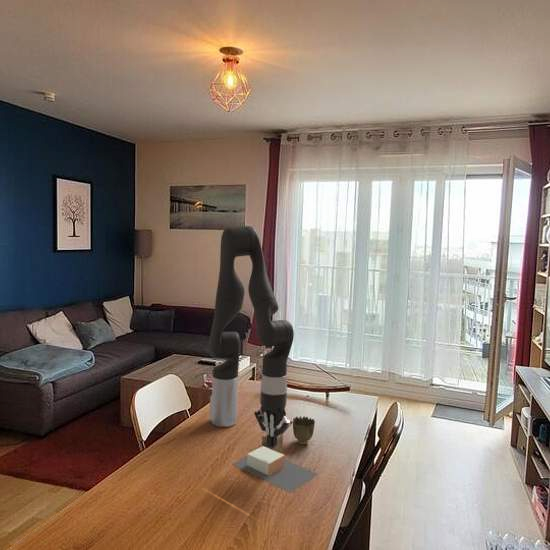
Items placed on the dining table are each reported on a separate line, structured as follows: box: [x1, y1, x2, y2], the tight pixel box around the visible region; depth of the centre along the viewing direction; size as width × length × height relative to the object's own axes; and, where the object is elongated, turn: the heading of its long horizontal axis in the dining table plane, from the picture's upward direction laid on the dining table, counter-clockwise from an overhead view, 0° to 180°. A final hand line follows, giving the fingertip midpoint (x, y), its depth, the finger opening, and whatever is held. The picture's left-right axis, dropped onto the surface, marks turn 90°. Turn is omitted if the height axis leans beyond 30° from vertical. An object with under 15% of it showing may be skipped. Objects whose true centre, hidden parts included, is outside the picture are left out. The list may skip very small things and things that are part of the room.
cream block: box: [246, 445, 286, 476], centre depth 135 cm, size 4×7×8 cm
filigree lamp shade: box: [291, 415, 316, 446], centre depth 150 cm, size 8×7×8 cm
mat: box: [232, 456, 319, 494], centre depth 133 cm, size 22×13×1 cm, turn 51°
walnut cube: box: [261, 432, 284, 453], centre depth 146 cm, size 5×5×5 cm
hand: (271, 446), depth 133 cm, fingers closed
